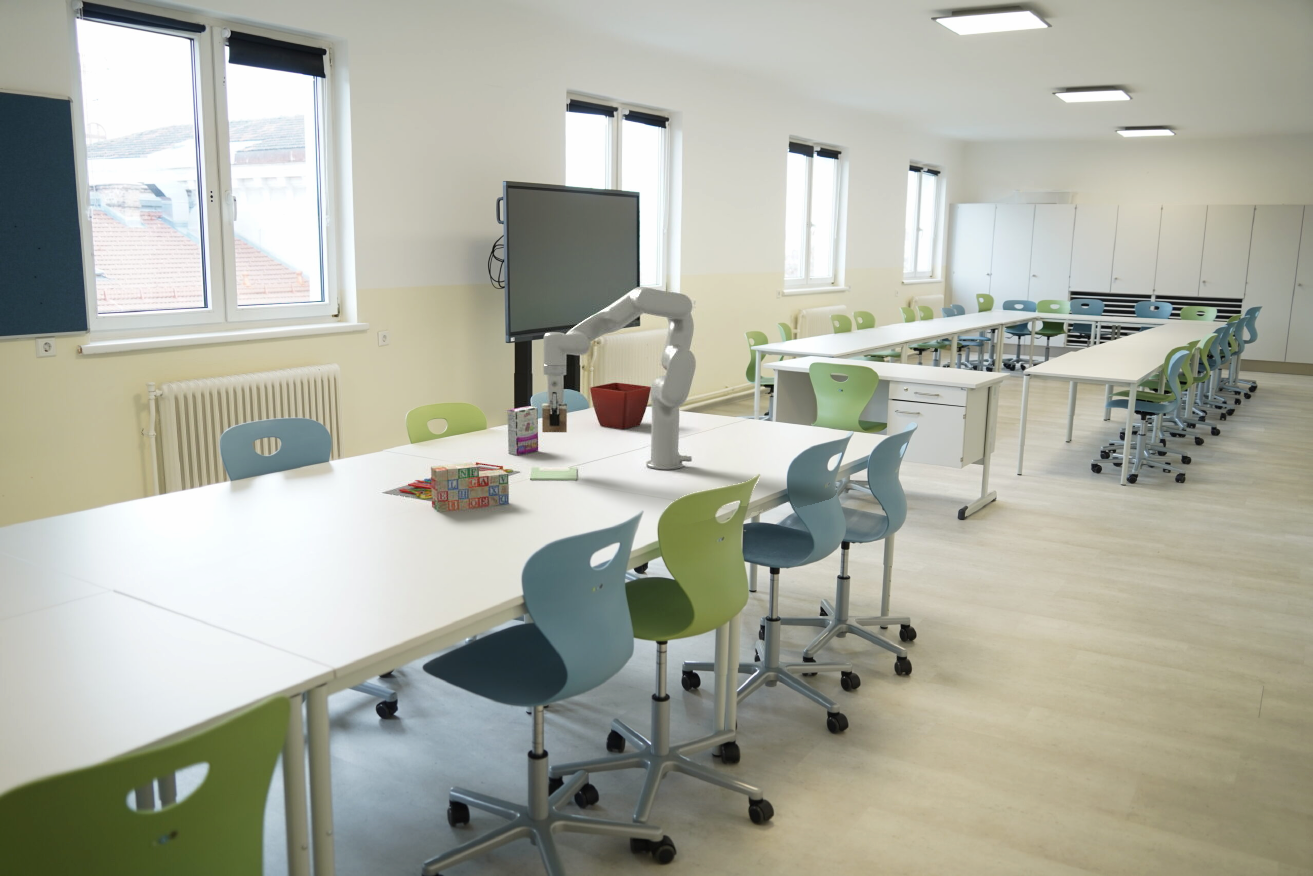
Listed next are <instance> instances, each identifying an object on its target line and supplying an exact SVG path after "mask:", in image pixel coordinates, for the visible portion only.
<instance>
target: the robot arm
mask: <svg viewBox="0 0 1313 876" xmlns="http://www.w3.org/2000/svg"><path fill="white" fill-rule="evenodd" d="M692 311H693V303H692V300H691V298H690V297H689V296H688V295H686V294H685V293H680V292H674V291H667V290H660V289H656V288H652V287H648V286H647V287H646V286H637V287H635V288H633V289H632V290H630V291H629V292H626V294H624V295H623V296H622V297H620V298H618V299H617V300H616V301H614V302H613V303H611V304H610V305H608V306H606V307H605V308H603V309H602V310H600V311H598V312H596V313H595V314H593V315H591V316H590V317H588V318H586V319H584V320H583V321H582V322H579V323H578V324H577V325H575V326H574V327H573V328H571V329H569V330H568V331H567V332H566V333H563V332H559V331H557V332H556V331H551V332H550V331H549V332H545V334H544V335H543V361H542V362H543V375H545V376H546V379H547V380H546V381H547V383H546V384H547V386H546V387H547V388H546V389H547V391H546V393H547V402H548V403H547V404H549V405H550V404H551V405H550V426H559V415H560V414H559V404H561V405H563V404H564V376H566V375H567V355H573V356H584V355H586V354H587V353H588V352H589V351H590V350H591V347H592V342H593V341H594V340H597V339H599V338H600V337H602V336H604V335H607V334H612V333H615V332H618V331H621V330H622V329H623V328H625V327H626V326H627V325H629V324H630V323H631V322H632V321H634V320H636V319H637V318H639V317H640V316H641V315H643V314H646V315H650V316H655V317H660V318H661V317H662V318H666V319H667V322H668V331H667V337H666V340H665V344H664V347H663V351H662V354H661V359H660V363H661V366H662V368H663V369H664V370H666V372H665V375H660V376H658V377H656V378H655V379H654V380H653V382H652V383H651V386H650V387H651V390H650V401H651V434H650V435H651V436H650V437H651V441H650V459H649V460H647V461H646V463H645V465H646V467H648V468H650V469H654V470H664V471H665V470H666V471H667V470H668V471H669V470H678V469H681V468H682V467H683V462H687V463H688V462H689V463H690V462H692V458H693V457H692V456H690V455H681V454H680V452H679V439H680V438H679V437H680V436H679V435H680V431H679V430H680V407H681V406H682V405H684V404H685V402H686V401H687V399H688V396H689V395H690V390H691V387H692V383H693V379H694V376H695V372H696V367H697V366H696V365H697V364H696V363H697V360H696V357H695V354H694V353H693V352H692V351H691V350H690V349H691V346H692V340H693V337H694V336H693V335H694V329H695V328H694V319H693V315H692ZM556 404H558V405H556ZM552 406H553V407H552ZM556 406H557V407H556Z"/></svg>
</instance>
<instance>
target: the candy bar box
mask: <svg viewBox="0 0 1313 876" xmlns="http://www.w3.org/2000/svg"><path fill="white" fill-rule="evenodd" d="M538 412H539V411H538V407H537V406H531V405H530V406H529V405H527V406H523V407H517V408H512V409H507V437H508V438H507V440H508V441H507V442H508V443H507V444H508V447H507V448H508V449H507V451H508V454H509V455H511V456H513V455H514V456H521V455H526V454H531V453H535V452H539V424H538V423H539V422H538V421H539V417H538V416H539V414H538Z"/></svg>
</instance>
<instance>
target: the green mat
mask: <svg viewBox="0 0 1313 876" xmlns="http://www.w3.org/2000/svg"><path fill="white" fill-rule="evenodd" d="M577 469H578V468H577V467H576V466H575V467H574V466H572V467H570V466H568V467H567V466H566V467H563V466H562V467H561V466H560V467H557V466H556V467H554V466H550V467H549V466H547V467H544V466H542V467H541V466H540V467H539V466H536V467H535V466H532V467H531V473H530V477H529V481H577V479H578V477H577V476H578V475H577V473H578V471H577Z"/></svg>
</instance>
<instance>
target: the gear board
mask: <svg viewBox="0 0 1313 876" xmlns="http://www.w3.org/2000/svg"><path fill="white" fill-rule="evenodd" d="M474 464H475V465H477V466H478V467H479V472H480V471H490V470H491V471H492V470H503V471H504V472H506V473H508V477H510V476H514V475H516V474H518V473H521V471H518V470H514V469H512V468H504V466H503V465H498V464H497V465H495V464H489V463H482V462H478V461H477V462H475V463H474ZM382 494H388V495H392V494H393V496H398V495H400V497H404V496H405V498H410V497H411V499H417V500H421V501H428V502H432V490H431V477H429V478H423V479H422V480H421V479H415V480H414V481H413V482H410V483H408V484H406V485H403V486H400V487H395V488H392V489H389V490H386V491H383V492H382Z"/></svg>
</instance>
